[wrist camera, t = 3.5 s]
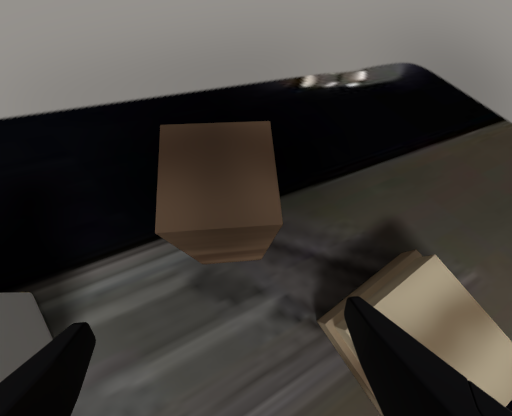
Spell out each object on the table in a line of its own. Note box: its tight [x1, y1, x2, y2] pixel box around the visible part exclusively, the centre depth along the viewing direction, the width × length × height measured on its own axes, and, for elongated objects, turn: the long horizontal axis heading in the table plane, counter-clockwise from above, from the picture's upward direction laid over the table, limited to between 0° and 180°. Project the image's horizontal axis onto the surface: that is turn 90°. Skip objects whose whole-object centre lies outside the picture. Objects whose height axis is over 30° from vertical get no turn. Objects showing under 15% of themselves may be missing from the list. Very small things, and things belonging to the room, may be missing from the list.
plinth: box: [317, 249, 512, 416], centre depth 18 cm, size 10×10×4 cm
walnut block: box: [155, 121, 283, 264], centre depth 16 cm, size 5×5×12 cm
